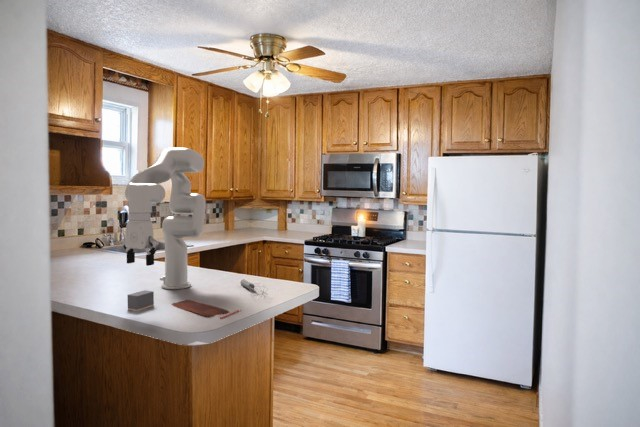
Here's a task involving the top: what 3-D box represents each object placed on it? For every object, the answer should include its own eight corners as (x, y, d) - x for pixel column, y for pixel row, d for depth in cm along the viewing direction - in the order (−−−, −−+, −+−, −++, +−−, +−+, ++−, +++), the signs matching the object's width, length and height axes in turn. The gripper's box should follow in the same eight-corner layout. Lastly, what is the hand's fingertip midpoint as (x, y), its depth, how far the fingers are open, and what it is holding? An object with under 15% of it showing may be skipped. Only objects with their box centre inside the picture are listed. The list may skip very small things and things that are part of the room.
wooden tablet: (231, 314, 159) (231, 309, 159) (207, 320, 152) (207, 315, 152) (190, 300, 177) (190, 296, 177) (167, 305, 169) (167, 301, 169)
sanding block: (127, 309, 161) (127, 294, 161) (144, 304, 169) (144, 290, 168) (136, 311, 159) (136, 296, 159) (153, 306, 167) (153, 291, 166)
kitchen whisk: (247, 283, 207) (247, 270, 207) (270, 301, 176) (270, 285, 176) (235, 284, 204) (234, 271, 204) (255, 302, 174) (255, 287, 173)
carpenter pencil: (219, 319, 151) (219, 317, 151) (240, 310, 161) (240, 308, 161) (221, 319, 151) (221, 317, 151) (241, 311, 161) (241, 309, 161)
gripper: (114, 217, 162) (115, 263, 163) (149, 219, 155) (149, 267, 156) (131, 216, 169) (131, 260, 170) (165, 217, 162) (165, 264, 163)
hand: (140, 264), depth 163 cm, fingers open, 9 cm apart
